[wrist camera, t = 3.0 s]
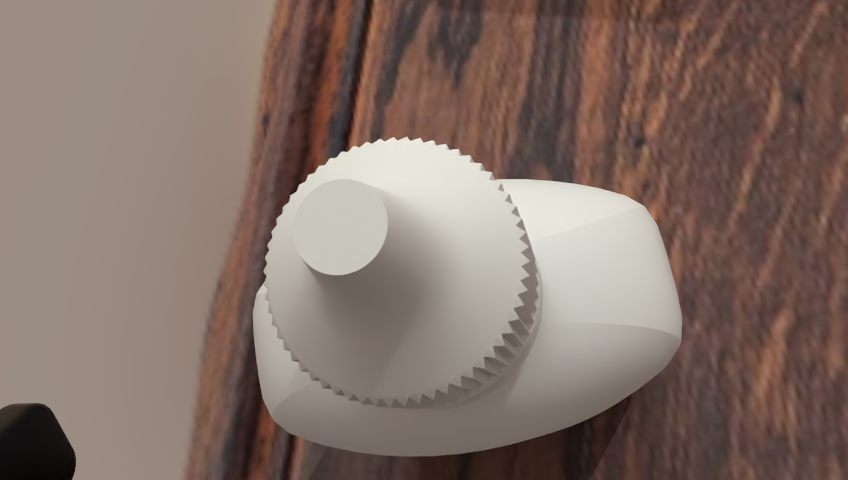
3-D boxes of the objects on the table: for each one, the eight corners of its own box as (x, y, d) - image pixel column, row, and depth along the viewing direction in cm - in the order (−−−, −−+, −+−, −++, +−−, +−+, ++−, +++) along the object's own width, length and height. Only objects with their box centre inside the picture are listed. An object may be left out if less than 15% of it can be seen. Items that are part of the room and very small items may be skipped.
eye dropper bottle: (424, 232, 18) (126, -105, 6) (666, 301, 16) (843, 24, 5) (363, 413, 17) (-93, 400, 6) (610, 502, 16) (663, 727, 4)
